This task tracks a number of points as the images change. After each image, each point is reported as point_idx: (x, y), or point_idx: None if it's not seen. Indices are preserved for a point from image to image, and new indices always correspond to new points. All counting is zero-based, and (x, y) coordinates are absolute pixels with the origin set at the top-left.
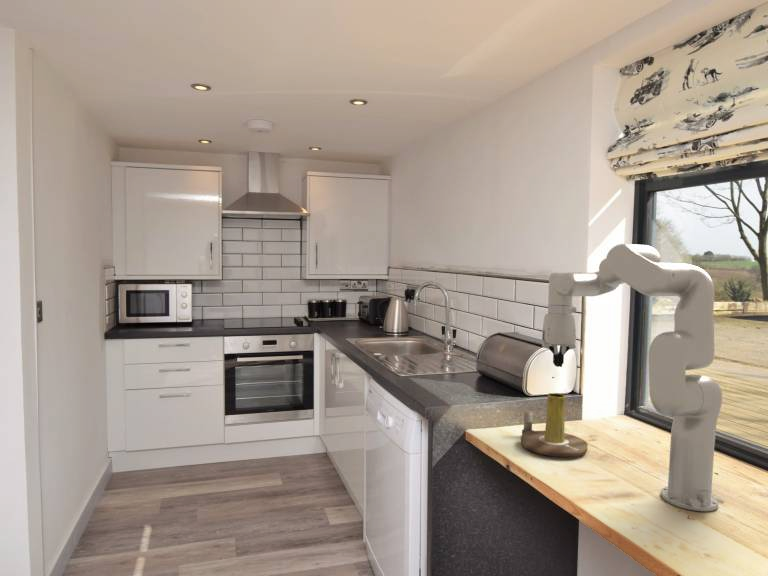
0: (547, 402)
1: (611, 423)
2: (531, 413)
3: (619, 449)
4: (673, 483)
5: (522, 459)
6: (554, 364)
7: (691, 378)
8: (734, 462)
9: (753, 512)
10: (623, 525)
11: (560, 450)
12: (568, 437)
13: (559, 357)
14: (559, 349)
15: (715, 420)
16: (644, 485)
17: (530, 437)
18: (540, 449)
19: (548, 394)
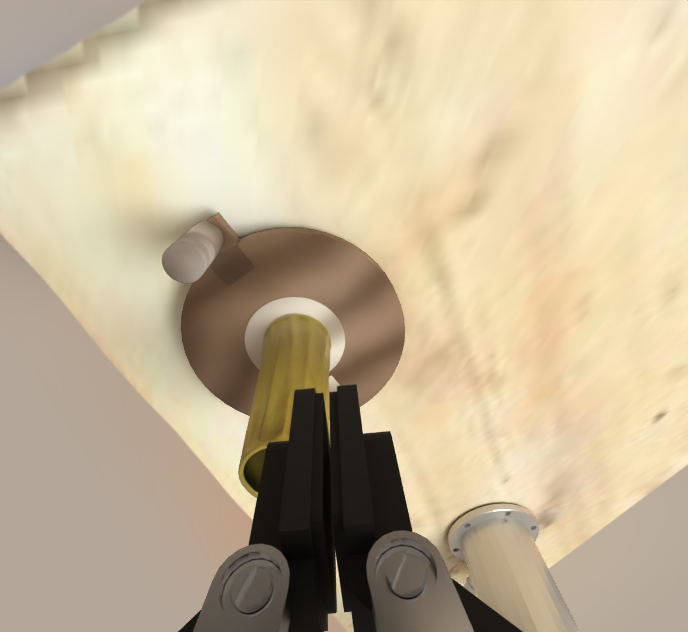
0: (246, 437)
1: None
2: (198, 278)
3: (516, 295)
4: (469, 573)
5: (197, 417)
6: (295, 398)
7: None
8: None
9: (570, 544)
10: (341, 599)
11: None
12: (357, 300)
13: (334, 577)
14: (380, 629)
15: None
16: (446, 493)
17: (216, 325)
18: (243, 410)
19: (241, 473)
